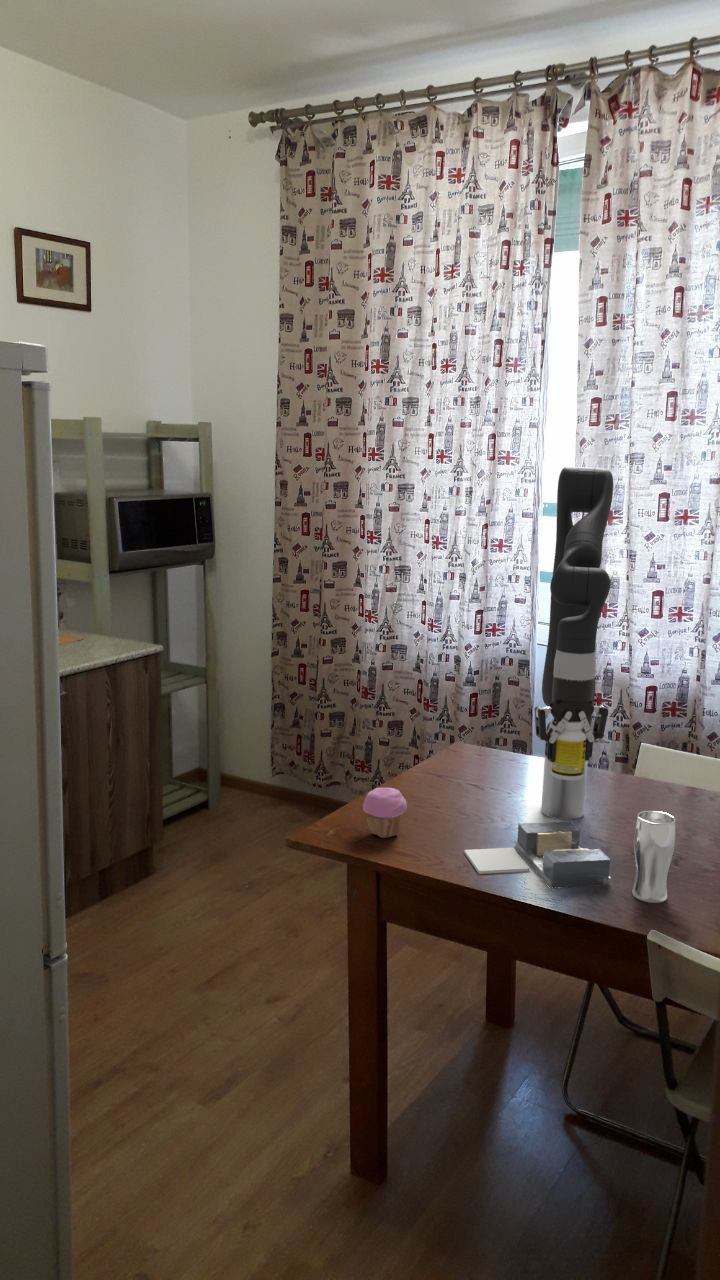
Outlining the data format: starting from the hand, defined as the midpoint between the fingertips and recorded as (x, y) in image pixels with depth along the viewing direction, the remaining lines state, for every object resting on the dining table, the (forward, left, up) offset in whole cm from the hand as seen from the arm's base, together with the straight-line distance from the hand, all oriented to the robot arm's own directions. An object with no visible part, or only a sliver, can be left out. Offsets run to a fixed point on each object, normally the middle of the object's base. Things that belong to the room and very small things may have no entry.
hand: (567, 759), depth 188 cm
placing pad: (-3, -12, -21) cm, 25 cm away
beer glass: (+15, +11, -21) cm, 28 cm away
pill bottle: (0, 0, -3) cm, 3 cm away
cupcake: (-19, -31, -21) cm, 42 cm away
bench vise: (0, 0, -21) cm, 21 cm away
